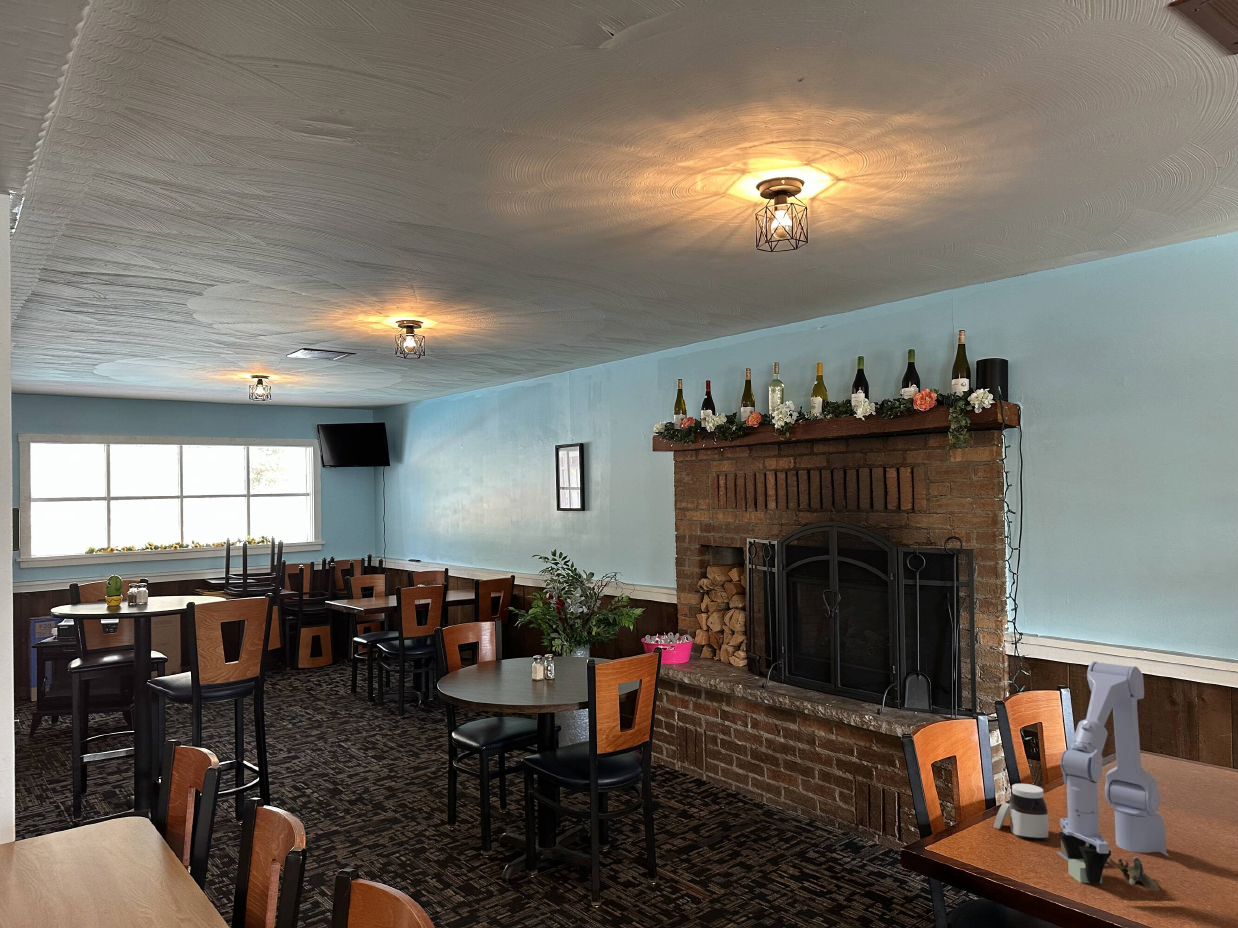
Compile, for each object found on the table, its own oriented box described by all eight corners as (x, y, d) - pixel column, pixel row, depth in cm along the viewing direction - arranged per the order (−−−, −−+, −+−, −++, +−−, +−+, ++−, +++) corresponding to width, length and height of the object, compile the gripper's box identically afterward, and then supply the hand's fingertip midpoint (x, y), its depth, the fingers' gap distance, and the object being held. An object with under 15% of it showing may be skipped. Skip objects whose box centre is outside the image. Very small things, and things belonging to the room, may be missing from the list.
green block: (1089, 878, 175) (1089, 858, 175) (1102, 887, 170) (1101, 867, 170) (1068, 878, 175) (1068, 858, 175) (1080, 887, 170) (1079, 867, 170)
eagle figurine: (1102, 876, 173) (1136, 886, 164) (1112, 843, 175) (1147, 852, 167) (1131, 895, 173) (1167, 906, 165) (1141, 862, 175) (1177, 871, 167)
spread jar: (1053, 846, 191) (1051, 795, 192) (1001, 843, 194) (999, 792, 194) (1037, 828, 203) (1036, 780, 204) (988, 824, 205) (987, 777, 206)
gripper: (1045, 797, 181) (1047, 860, 180) (1083, 821, 166) (1085, 890, 165) (1077, 797, 181) (1080, 861, 180) (1118, 821, 166) (1120, 890, 165)
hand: (1085, 875), depth 173 cm, fingers open, 6 cm apart
